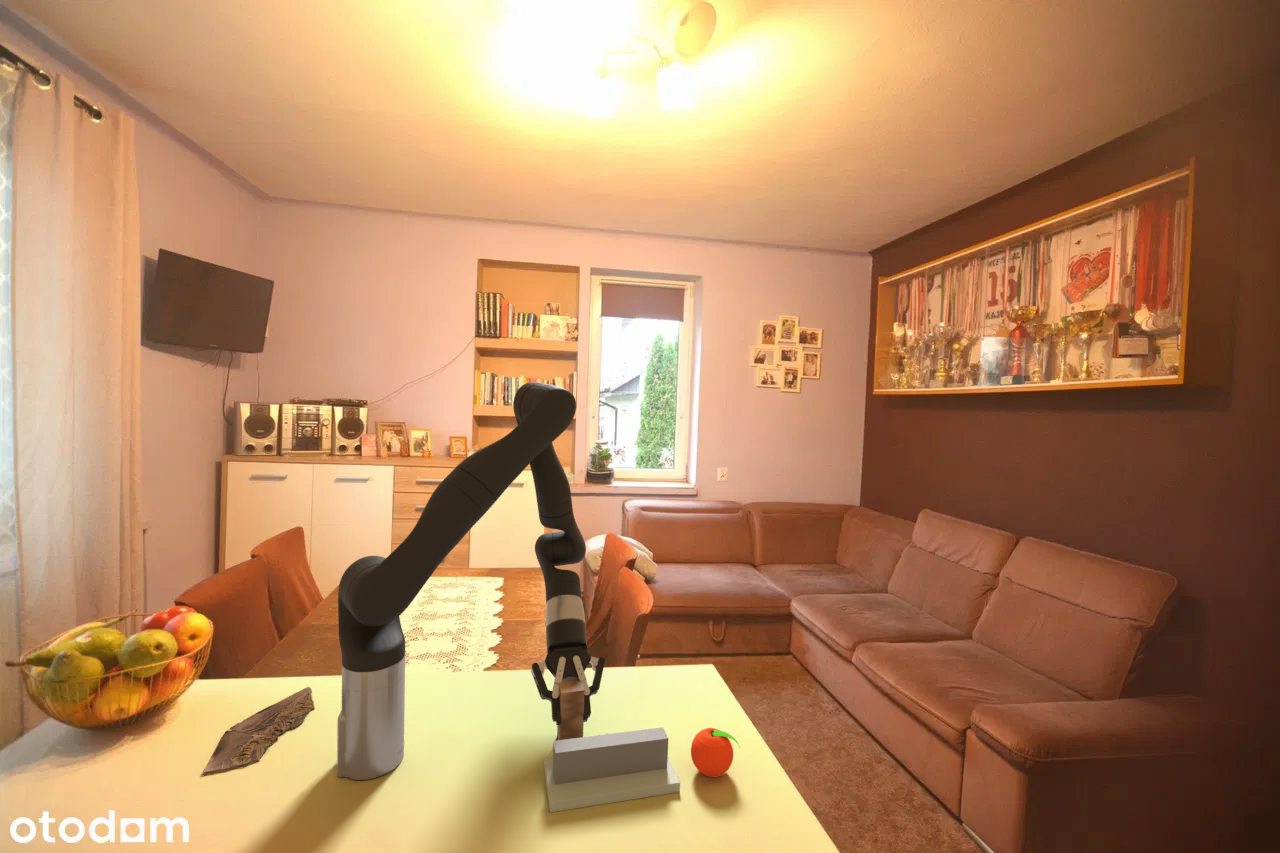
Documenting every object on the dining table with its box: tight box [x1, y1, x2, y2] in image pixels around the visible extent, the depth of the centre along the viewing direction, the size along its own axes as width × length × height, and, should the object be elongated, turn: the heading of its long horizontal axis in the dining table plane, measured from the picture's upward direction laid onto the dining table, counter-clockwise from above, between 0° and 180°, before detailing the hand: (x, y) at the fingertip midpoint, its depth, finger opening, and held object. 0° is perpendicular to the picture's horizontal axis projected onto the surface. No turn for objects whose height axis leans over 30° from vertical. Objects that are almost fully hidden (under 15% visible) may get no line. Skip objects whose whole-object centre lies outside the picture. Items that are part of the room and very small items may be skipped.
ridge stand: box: [543, 727, 681, 813], centre depth 87 cm, size 20×10×6 cm, turn 105°
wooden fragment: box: [202, 686, 316, 777], centre depth 97 cm, size 26×11×1 cm, turn 176°
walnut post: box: [556, 679, 585, 740], centre depth 96 cm, size 4×4×10 cm
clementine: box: [690, 727, 741, 778], centre depth 89 cm, size 8×7×7 cm
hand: (572, 721), depth 94 cm, fingers closed on walnut post, 4 cm apart
